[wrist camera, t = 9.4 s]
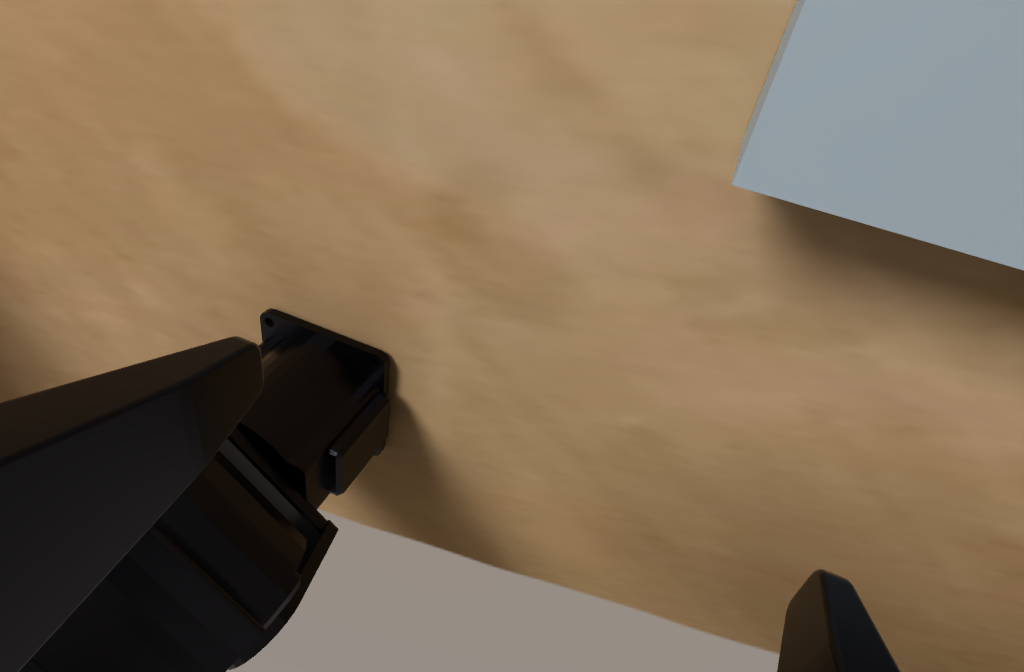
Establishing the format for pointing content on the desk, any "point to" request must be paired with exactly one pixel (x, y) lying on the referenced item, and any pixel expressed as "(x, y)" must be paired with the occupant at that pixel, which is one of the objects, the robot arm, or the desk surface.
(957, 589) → the desk surface
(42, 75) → the desk surface
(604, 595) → the desk surface
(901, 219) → the socket block
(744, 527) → the desk surface
